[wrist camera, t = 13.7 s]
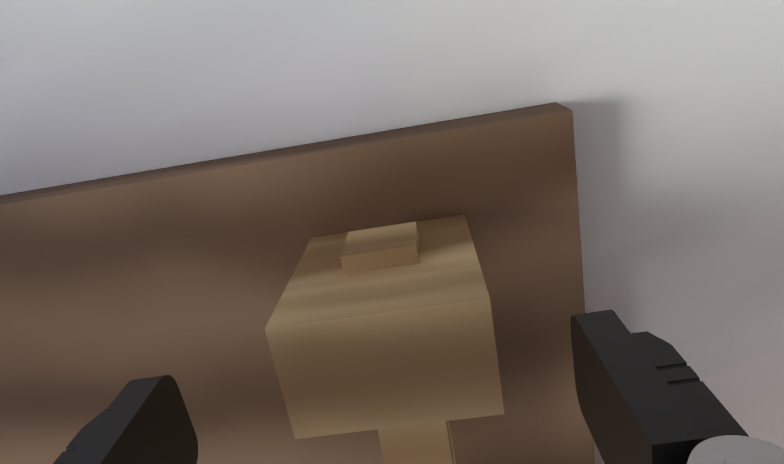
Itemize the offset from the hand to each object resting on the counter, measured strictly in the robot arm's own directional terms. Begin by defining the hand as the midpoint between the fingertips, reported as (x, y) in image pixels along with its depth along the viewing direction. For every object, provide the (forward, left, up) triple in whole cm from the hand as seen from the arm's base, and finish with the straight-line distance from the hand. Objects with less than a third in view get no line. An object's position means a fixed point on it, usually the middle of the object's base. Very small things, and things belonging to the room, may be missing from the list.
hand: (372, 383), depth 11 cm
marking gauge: (+5, 0, -7) cm, 9 cm away
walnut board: (+5, -6, -9) cm, 12 cm away
